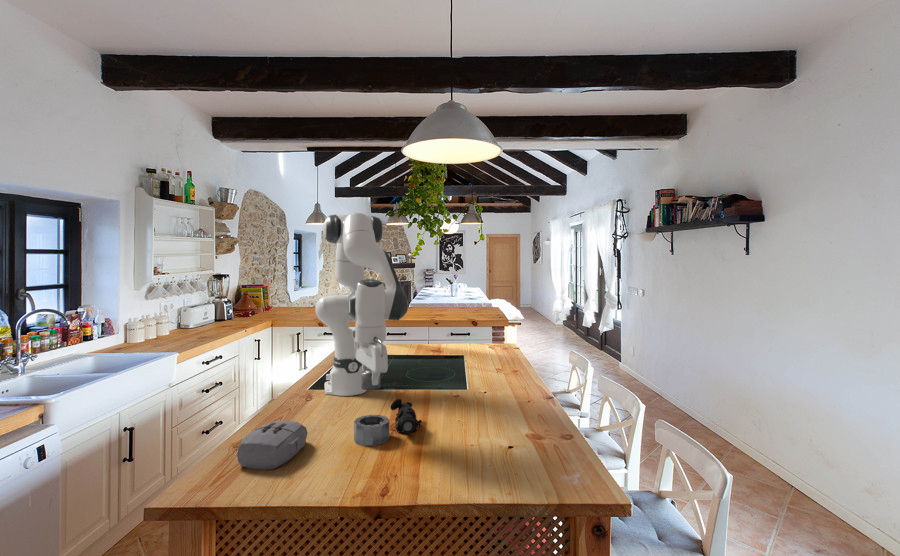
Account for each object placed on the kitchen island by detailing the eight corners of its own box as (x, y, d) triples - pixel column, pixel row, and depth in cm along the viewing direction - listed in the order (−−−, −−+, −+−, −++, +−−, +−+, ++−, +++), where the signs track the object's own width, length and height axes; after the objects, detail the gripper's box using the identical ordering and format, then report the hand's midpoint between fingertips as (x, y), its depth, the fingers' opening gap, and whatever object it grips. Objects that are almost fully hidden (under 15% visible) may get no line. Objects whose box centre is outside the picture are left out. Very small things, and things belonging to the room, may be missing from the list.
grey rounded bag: (283, 473, 111) (317, 440, 131) (283, 440, 111) (317, 412, 131) (227, 469, 113) (269, 437, 133) (227, 436, 113) (269, 410, 133)
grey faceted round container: (350, 436, 134) (350, 418, 134) (382, 430, 139) (382, 412, 139) (360, 448, 125) (360, 429, 125) (393, 441, 130) (393, 423, 130)
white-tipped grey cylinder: (358, 386, 132) (358, 370, 132) (376, 383, 135) (376, 368, 135) (364, 391, 128) (364, 374, 127) (382, 388, 130) (382, 372, 130)
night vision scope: (409, 448, 131) (383, 428, 130) (406, 427, 149) (383, 409, 147) (426, 427, 132) (400, 407, 130) (421, 408, 149) (398, 390, 148)
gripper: (393, 339, 123) (393, 389, 124) (370, 329, 141) (370, 372, 142) (371, 341, 120) (371, 392, 121) (350, 330, 138) (350, 375, 139)
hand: (370, 381), depth 131 cm, fingers closed on white-tipped grey cylinder, 6 cm apart
